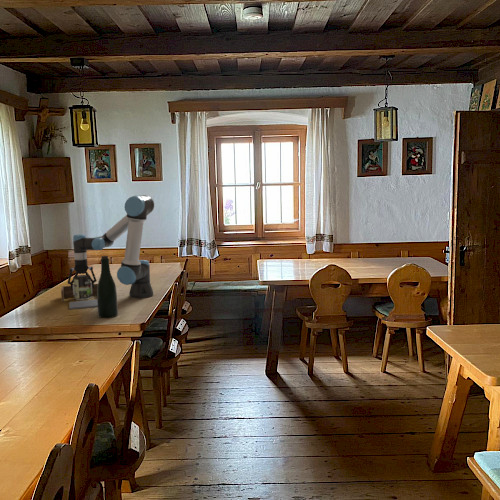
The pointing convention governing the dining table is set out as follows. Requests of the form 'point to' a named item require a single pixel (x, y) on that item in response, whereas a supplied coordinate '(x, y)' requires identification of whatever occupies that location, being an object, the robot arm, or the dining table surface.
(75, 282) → the coffee can
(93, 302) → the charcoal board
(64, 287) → the walnut u-shaped frame
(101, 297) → the green wine bottle
